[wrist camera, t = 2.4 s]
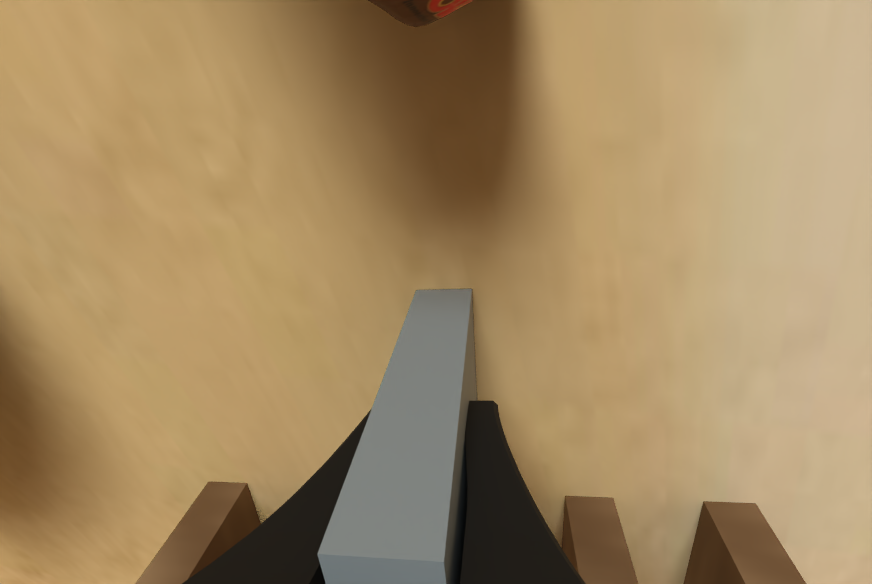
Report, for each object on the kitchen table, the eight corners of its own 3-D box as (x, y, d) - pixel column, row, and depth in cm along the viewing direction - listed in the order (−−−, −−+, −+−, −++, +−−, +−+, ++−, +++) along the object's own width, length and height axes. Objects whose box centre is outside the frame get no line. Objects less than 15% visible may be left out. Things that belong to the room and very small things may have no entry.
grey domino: (472, 288, 13) (444, 562, 5) (478, 427, 15) (464, 759, 7) (416, 289, 13) (317, 554, 6) (430, 426, 15) (371, 747, 8)
